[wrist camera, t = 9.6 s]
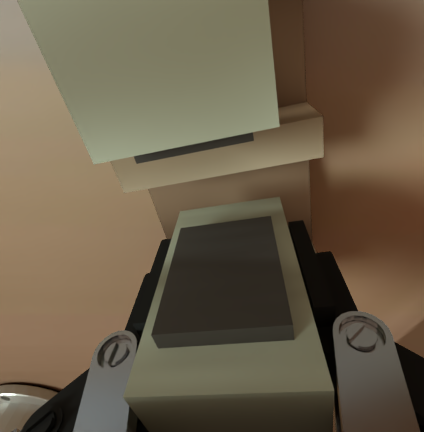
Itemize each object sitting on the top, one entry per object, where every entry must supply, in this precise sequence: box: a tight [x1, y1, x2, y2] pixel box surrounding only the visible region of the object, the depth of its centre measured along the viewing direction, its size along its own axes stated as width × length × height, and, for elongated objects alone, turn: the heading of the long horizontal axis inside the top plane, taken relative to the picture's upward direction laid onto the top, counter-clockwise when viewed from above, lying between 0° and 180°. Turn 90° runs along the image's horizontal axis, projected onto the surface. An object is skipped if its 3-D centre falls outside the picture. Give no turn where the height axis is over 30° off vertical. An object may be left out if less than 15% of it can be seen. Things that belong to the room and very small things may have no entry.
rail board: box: [17, 0, 324, 253], centre depth 10 cm, size 16×8×8 cm, turn 13°
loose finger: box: [123, 197, 334, 432], centre depth 9 cm, size 4×4×7 cm
